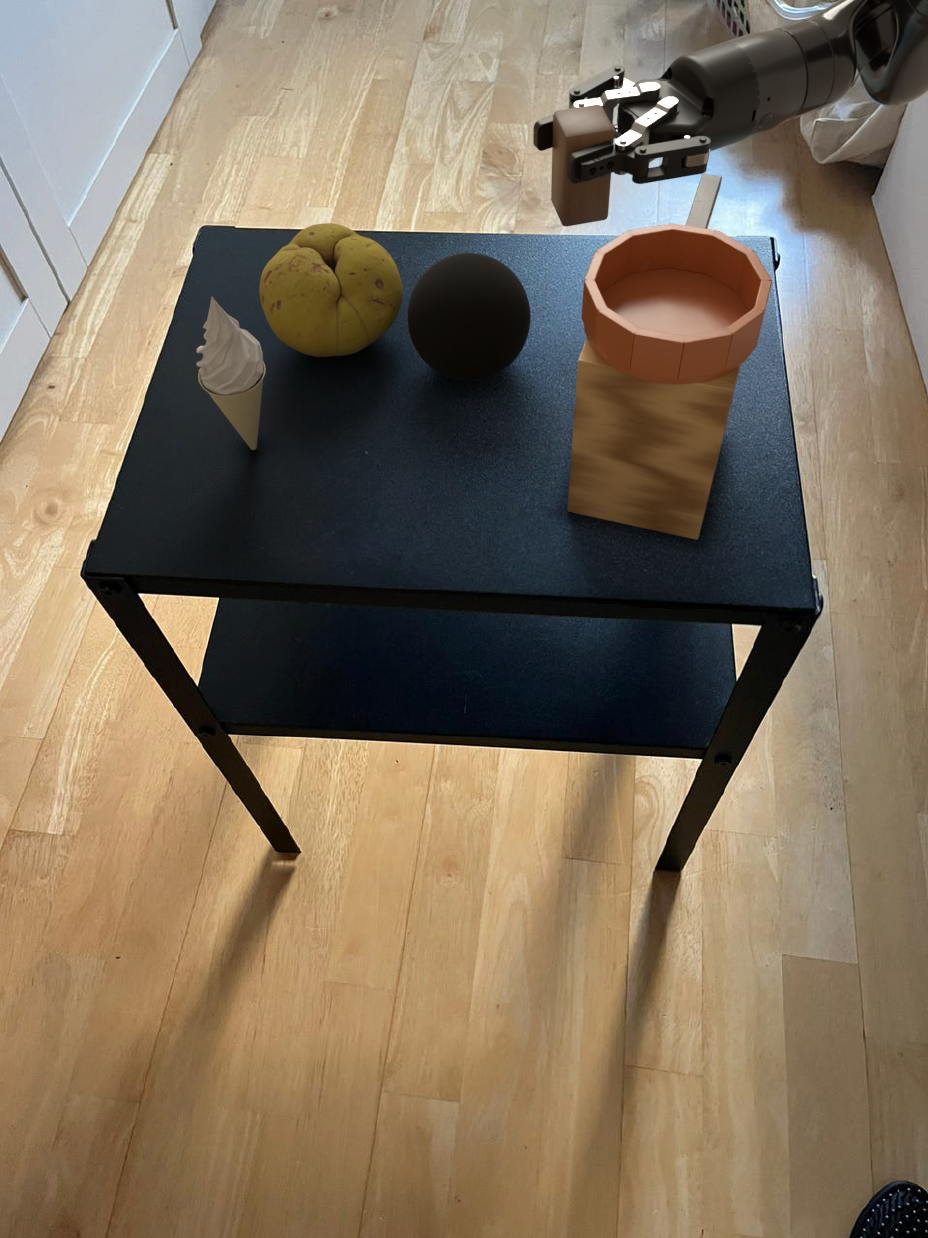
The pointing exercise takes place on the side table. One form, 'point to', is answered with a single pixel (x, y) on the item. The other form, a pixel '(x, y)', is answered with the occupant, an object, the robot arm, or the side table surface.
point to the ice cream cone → (232, 372)
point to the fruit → (330, 291)
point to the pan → (676, 298)
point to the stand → (645, 446)
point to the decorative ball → (469, 317)
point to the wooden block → (569, 136)
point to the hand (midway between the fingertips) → (553, 153)
